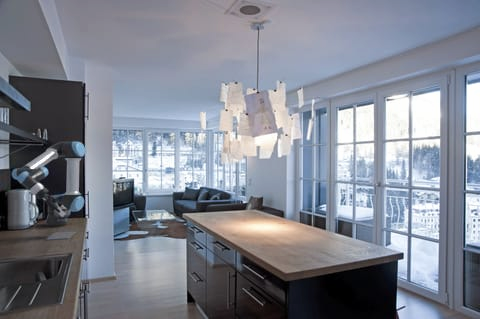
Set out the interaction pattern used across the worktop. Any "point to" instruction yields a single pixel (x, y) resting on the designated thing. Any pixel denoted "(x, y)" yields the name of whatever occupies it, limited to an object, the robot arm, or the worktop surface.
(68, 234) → the rubber mat
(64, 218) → the mortar and pestle
